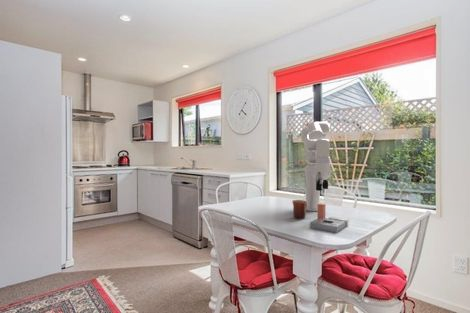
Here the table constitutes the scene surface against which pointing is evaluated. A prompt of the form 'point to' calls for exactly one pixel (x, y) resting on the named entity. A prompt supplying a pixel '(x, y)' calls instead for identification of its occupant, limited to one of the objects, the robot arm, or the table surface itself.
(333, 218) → the tilted grey slab block
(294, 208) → the mug
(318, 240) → the table surface
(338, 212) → the table surface
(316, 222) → the square hole plate
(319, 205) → the pin
